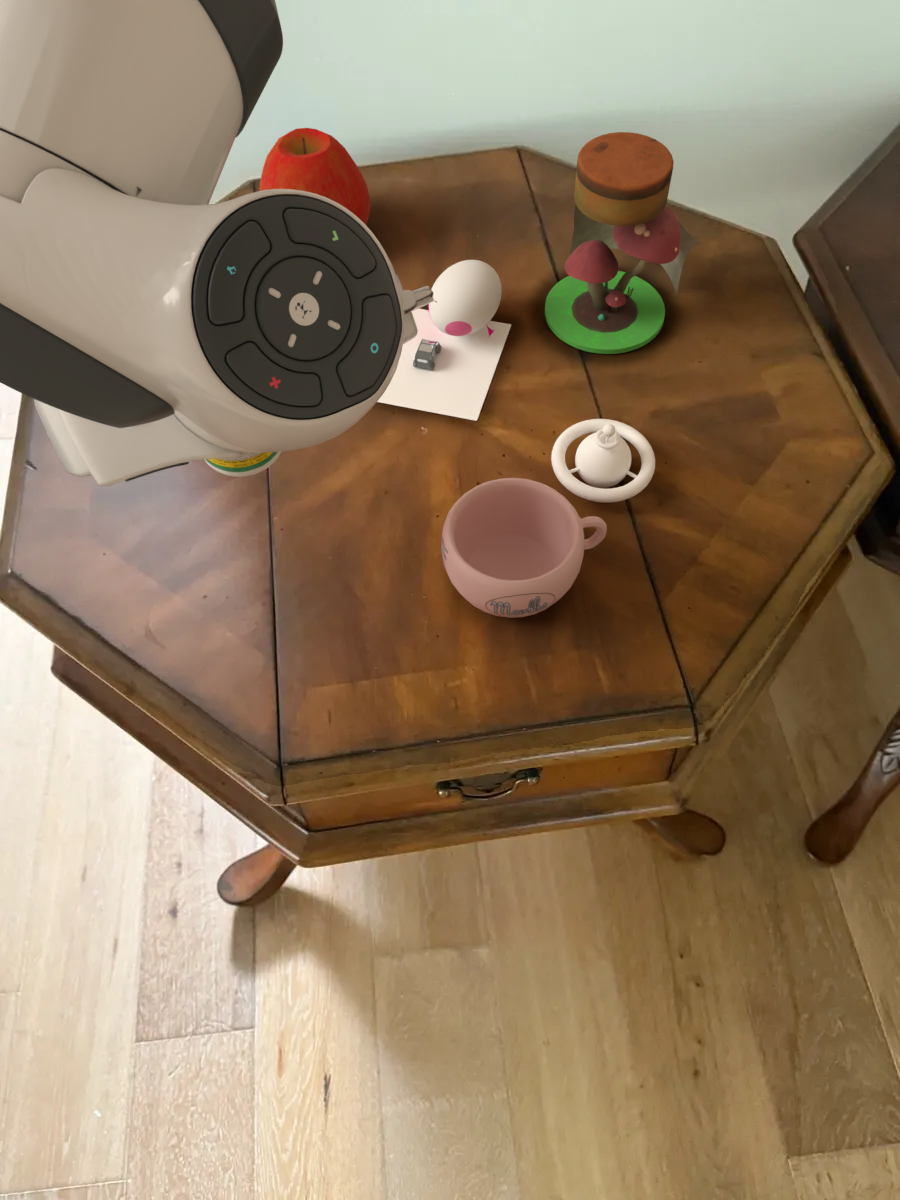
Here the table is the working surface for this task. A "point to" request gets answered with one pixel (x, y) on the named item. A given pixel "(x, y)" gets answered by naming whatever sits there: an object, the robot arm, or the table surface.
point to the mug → (515, 546)
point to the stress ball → (465, 298)
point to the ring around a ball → (603, 460)
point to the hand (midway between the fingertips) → (221, 381)
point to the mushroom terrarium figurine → (618, 246)
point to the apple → (316, 170)
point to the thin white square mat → (446, 369)
